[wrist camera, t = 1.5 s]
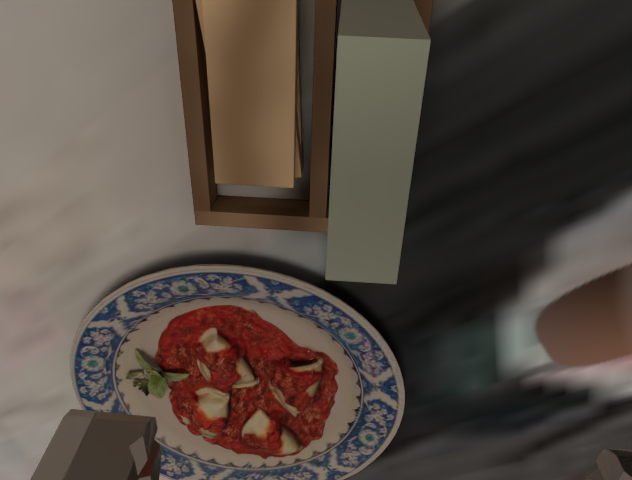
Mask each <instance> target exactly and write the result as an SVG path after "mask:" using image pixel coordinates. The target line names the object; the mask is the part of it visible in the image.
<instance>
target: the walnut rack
mask: <svg viewBox="0 0 632 480" xmlns="http://www.w3.org/2000/svg"><path fill="white" fill-rule="evenodd" d="M413 1H414V3H415V5H416V8H417V10H418V12H419V14H420V17H421V19H422V21H423V23H424V26H425V28H426V30H427V32H428V34H429V27H430V20H431V13H432V5H433V0H413ZM172 3H173V12H174V22H175V32H176V41H177V51H178V60H179V70H180V80H181V89H182V99H183V109H184V118H185V128H186V137H187V147H188V157H189V166H190V176H191V186H192V195H193V205H194V214H195V224H196V225H211V226H228V227H245V228H262V229H279V230H296V231H314V232H328V217H329V202H327V197H328V176H329V156H330V136H331V115H332V95H333V74H334V54H335V33H336V13H337V0H316V2H315V36H314V71H313V105H312V140H311V175H310V201H305V200H287V199H270V198H252V197H234V196H217V185H216V183H215V174H214V160H213V146H212V132H211V118H210V104H209V91H208V77H207V63H206V52H205V47H204V42H203V37H202V31H201V26H200V21H199V16H198V10H197V5H196V0H172Z"/></svg>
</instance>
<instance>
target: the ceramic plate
mask: <svg viewBox="0 0 632 480" xmlns="http://www.w3.org/2000/svg"><path fill="white" fill-rule="evenodd" d="M70 371H71V378H72V384H73V387H74V390H75V394H76V397H77V399H78V401H79V403H80V405H81V407H82V409H83V410H88V411H100V412H110V413H120V414H130V415H140V416H151V417H156V422H157V427H158V430H157V433H156V436H155V440H156V441H157V442H158V443H159V444H160V446H161V469H160V475H162V476H164V477H166V478H169V479H172V480H343V479H346V478H348V477H350V476H352V475H354V474H356V473H357V472H359V471H360V470H362V469H363V468H365V467H366V466H367V465H368V464H370V463H371V462H372V461H374V460H375V459H376V458H377V457H378V456H379V455H380V454H381V453H382V452H383V451H384V449H385V448H386V447H387V446H388V445H389V443H390V442H391V440H392V439H393V437H394V435H395V434H396V432H397V429H398V427H399V425H400V422H401V419H402V415H403V411H404V404H405V390H404V384H403V378H402V375H401V371H400V368H399V365H398V363H397V361H396V358H395V356H394V354H393V352H392V351H391V349H390V347H389V346H388V344H387V342H386V341H385V340H384V338H383V337H382V336H381V335H380V333H379V332H378V331H377V330H376V329H375V328H374V327H373V326H372V324H371V323H370V322H369V321H368V320H367V319H365V318H364V317H363V316H362V315H361V314H360V313H358V312H357V311H356V310H355V309H354V308H352V307H351V306H349V305H348V304H346V303H345V302H344V301H342V300H341V299H339V298H337V297H335V296H334V295H332V294H330V293H329V292H327V291H325V290H323V289H321V288H319V287H317V286H314V285H312V284H310V283H308V282H305V281H302V280H300V279H297V278H294V277H292V276H288V275H285V274H281V273H278V272H274V271H270V270H265V269H260V268H256V267H249V266H241V265H229V264H199V265H190V266H182V267H175V268H169V269H165V270H162V271H158V272H155V273H151V274H148V275H145V276H142V277H140V278H138V279H135V280H133V281H130V282H128V283H127V284H125V285H123V286H121V287H120V288H118V289H116V290H115V291H113V292H112V293H110V294H109V295H108V296H106V297H105V298H104V299H103V300H102V301H101V302H99V303H98V304H97V305H96V306H95V307H94V308H93V309H92V311H91V312H90V313H89V314H88V315H87V317H86V318H85V319H84V321H83V323H82V324H81V326H80V328H79V329H78V332H77V334H76V336H75V339H74V342H73V346H72V351H71V356H70Z"/></svg>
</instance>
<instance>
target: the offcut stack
mask: <svg viewBox="0 0 632 480" xmlns="http://www.w3.org/2000/svg"><path fill="white" fill-rule="evenodd" d="M196 5H197V10H198V16H199V21H200V26H201V31H202V37H203V42H204V47H205V52H206V63H207V77H208V91H209V104H210V118H211V132H212V146H213V160H214V174H215V183H216V184H233V185H250V186H267V187H284V188H294V182H295V178H296V177H302V172H303V144H302V112H301V81H300V49H299V18H298V0H196Z"/></svg>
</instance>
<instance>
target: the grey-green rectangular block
mask: <svg viewBox="0 0 632 480" xmlns="http://www.w3.org/2000/svg"><path fill="white" fill-rule="evenodd" d="M430 41H431V39H430V37H429V35H428V32H427V30H426V28H425V26H424V23H423V21H422V19H421V17H420V14H419V12H418V10H417V8H416V5H415V3H414V1H413V0H342V2H341V11H340V20H339V29H338V42H337V61H336V81H335V100H334V120H333V139H332V159H331V178H330V198H329V217H328V237H327V256H326V276H325V280H335V281H351V282H368V283H384V284H396V283H397V276H398V269H399V262H400V255H401V247H402V240H403V233H404V226H405V219H406V212H407V205H408V198H409V191H410V183H411V176H412V169H413V162H414V155H415V148H416V141H417V134H418V127H419V120H420V112H421V105H422V98H423V91H424V84H425V77H426V70H427V63H428V56H429V49H430Z"/></svg>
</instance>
